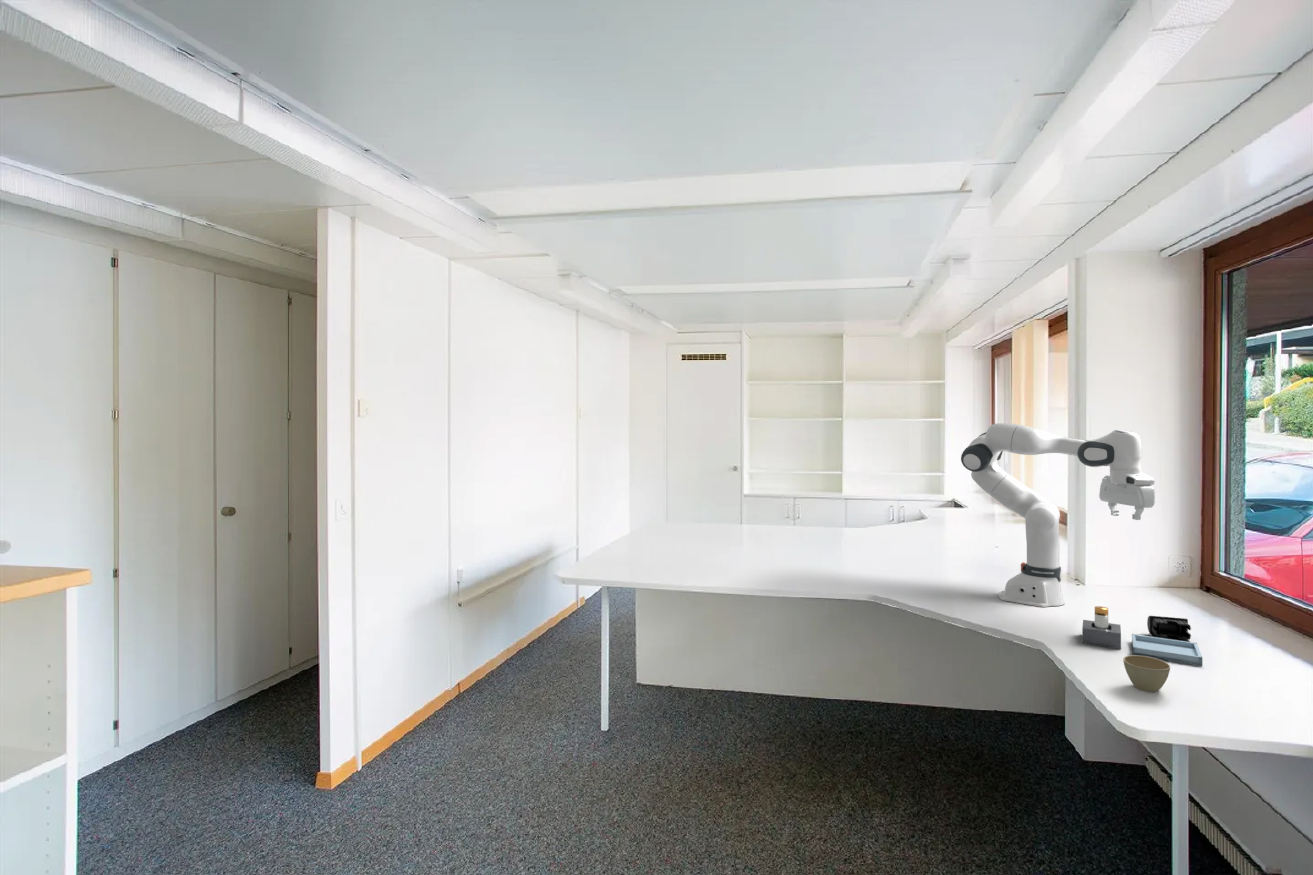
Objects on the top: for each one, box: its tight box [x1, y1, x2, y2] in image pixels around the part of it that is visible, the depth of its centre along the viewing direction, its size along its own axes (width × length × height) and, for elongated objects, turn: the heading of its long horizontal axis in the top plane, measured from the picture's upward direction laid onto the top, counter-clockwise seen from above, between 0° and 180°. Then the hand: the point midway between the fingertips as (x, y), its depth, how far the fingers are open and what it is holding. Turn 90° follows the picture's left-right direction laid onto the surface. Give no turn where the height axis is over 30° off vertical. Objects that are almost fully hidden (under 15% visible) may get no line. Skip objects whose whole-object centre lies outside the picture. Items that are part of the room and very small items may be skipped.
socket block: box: [1081, 619, 1122, 650], centre depth 206 cm, size 10×10×5 cm
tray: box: [1131, 633, 1203, 667], centre depth 196 cm, size 16×14×2 cm
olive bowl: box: [1122, 654, 1171, 693], centre depth 171 cm, size 10×10×7 cm
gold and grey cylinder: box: [1094, 605, 1109, 629], centre depth 206 cm, size 4×4×11 cm
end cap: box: [1146, 615, 1192, 642], centre depth 208 cm, size 10×7×7 cm
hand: (1125, 517), depth 221 cm, fingers open, 8 cm apart
